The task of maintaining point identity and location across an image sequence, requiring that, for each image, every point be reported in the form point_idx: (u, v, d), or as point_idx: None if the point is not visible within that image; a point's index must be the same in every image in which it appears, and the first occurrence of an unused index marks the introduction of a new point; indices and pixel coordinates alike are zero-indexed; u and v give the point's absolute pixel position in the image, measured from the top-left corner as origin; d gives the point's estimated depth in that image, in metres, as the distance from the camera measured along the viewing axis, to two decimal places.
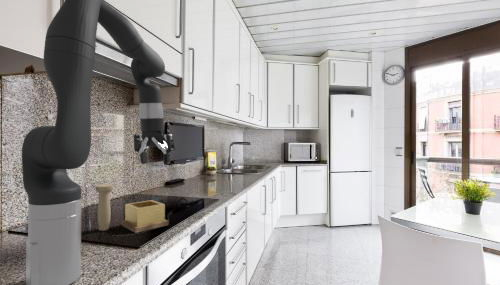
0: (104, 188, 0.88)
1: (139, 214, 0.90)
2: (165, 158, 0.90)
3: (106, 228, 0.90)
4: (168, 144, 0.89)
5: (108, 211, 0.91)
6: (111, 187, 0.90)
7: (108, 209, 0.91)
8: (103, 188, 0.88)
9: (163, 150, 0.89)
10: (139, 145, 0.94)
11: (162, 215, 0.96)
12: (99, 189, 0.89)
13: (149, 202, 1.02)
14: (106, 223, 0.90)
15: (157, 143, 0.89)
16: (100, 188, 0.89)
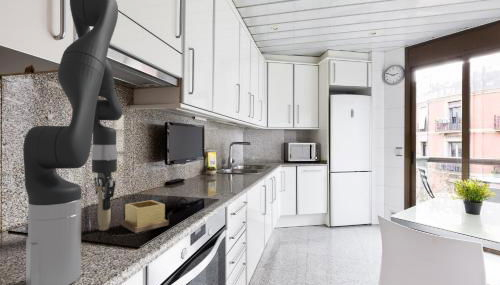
0: (104, 188, 0.88)
1: (139, 214, 0.90)
2: (103, 203, 0.89)
3: (106, 228, 0.90)
4: (105, 191, 0.87)
5: (108, 211, 0.91)
6: None
7: None
8: (103, 188, 0.88)
9: (102, 195, 0.89)
10: None
11: (162, 215, 0.96)
12: (99, 189, 0.89)
13: (149, 202, 1.02)
14: (106, 223, 0.90)
15: (100, 186, 0.89)
16: (100, 188, 0.89)
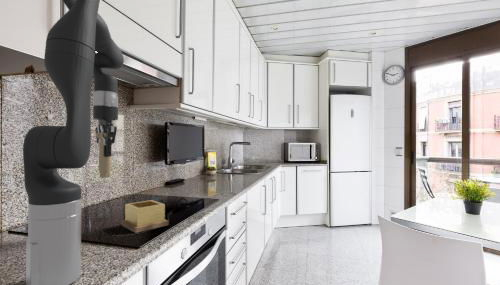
0: (105, 134, 0.89)
1: (139, 214, 0.90)
2: (105, 149, 0.89)
3: (107, 175, 0.91)
4: (107, 136, 0.87)
5: (109, 158, 0.91)
6: None
7: None
8: (104, 134, 0.89)
9: (104, 141, 0.89)
10: None
11: (162, 215, 0.96)
12: (100, 135, 0.89)
13: (149, 202, 1.02)
14: (107, 170, 0.90)
15: (101, 132, 0.89)
16: (101, 134, 0.89)
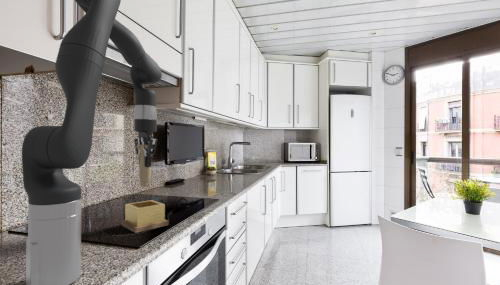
0: (146, 146, 0.94)
1: (139, 214, 0.90)
2: (145, 160, 0.94)
3: (147, 185, 0.96)
4: (148, 148, 0.92)
5: (149, 168, 0.96)
6: None
7: (149, 167, 0.96)
8: (145, 146, 0.94)
9: (145, 152, 0.94)
10: None
11: (162, 215, 0.96)
12: (141, 147, 0.94)
13: (149, 202, 1.02)
14: (147, 180, 0.95)
15: (143, 144, 0.94)
16: (142, 146, 0.94)
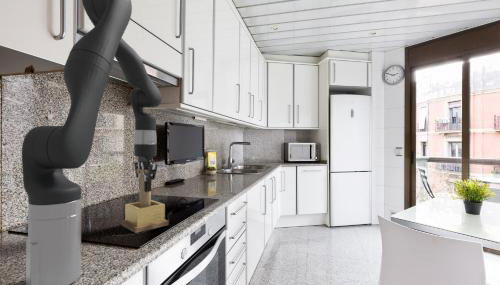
0: (146, 170, 0.94)
1: (139, 214, 0.90)
2: (145, 185, 0.94)
3: None
4: (148, 173, 0.92)
5: (149, 193, 0.96)
6: None
7: None
8: (145, 171, 0.94)
9: (144, 177, 0.94)
10: None
11: (162, 215, 0.96)
12: (141, 172, 0.94)
13: None
14: (147, 204, 0.95)
15: (142, 169, 0.94)
16: (142, 171, 0.94)
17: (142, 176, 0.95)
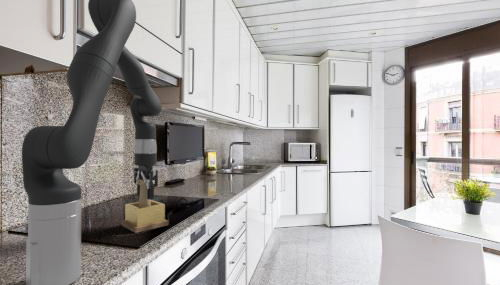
0: None
1: (139, 214, 0.90)
2: (148, 193, 0.93)
3: None
4: (150, 180, 0.91)
5: (149, 203, 0.96)
6: None
7: (149, 201, 0.96)
8: None
9: (147, 185, 0.93)
10: None
11: (162, 215, 0.96)
12: (141, 182, 0.94)
13: None
14: None
15: (143, 177, 0.94)
16: (142, 181, 0.94)
17: (142, 187, 0.95)
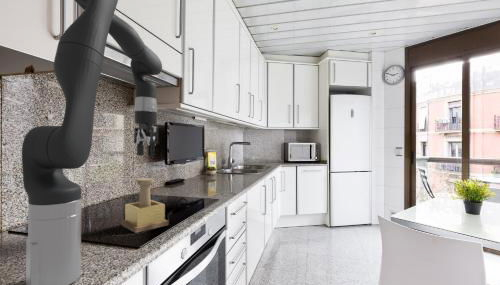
0: (146, 181, 0.94)
1: (139, 214, 0.90)
2: (149, 149, 0.93)
3: None
4: (150, 136, 0.91)
5: (149, 203, 0.96)
6: (152, 181, 0.95)
7: (149, 201, 0.96)
8: (145, 181, 0.94)
9: (147, 141, 0.93)
10: None
11: (162, 215, 0.96)
12: (141, 182, 0.94)
13: None
14: None
15: (144, 134, 0.94)
16: (142, 181, 0.94)
17: (142, 187, 0.95)
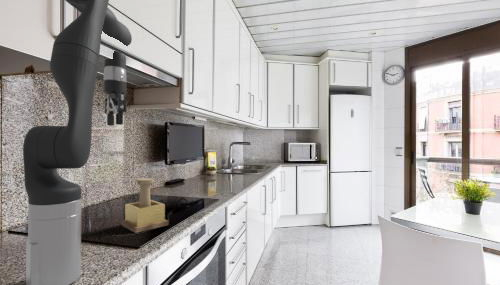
0: (146, 181, 0.94)
1: (139, 214, 0.90)
2: (117, 118, 0.94)
3: None
4: (118, 104, 0.93)
5: (149, 203, 0.96)
6: (152, 181, 0.95)
7: (149, 201, 0.96)
8: (145, 181, 0.94)
9: (115, 110, 0.94)
10: None
11: (162, 215, 0.96)
12: (141, 182, 0.94)
13: None
14: None
15: (112, 103, 0.95)
16: (142, 181, 0.94)
17: (142, 187, 0.95)
